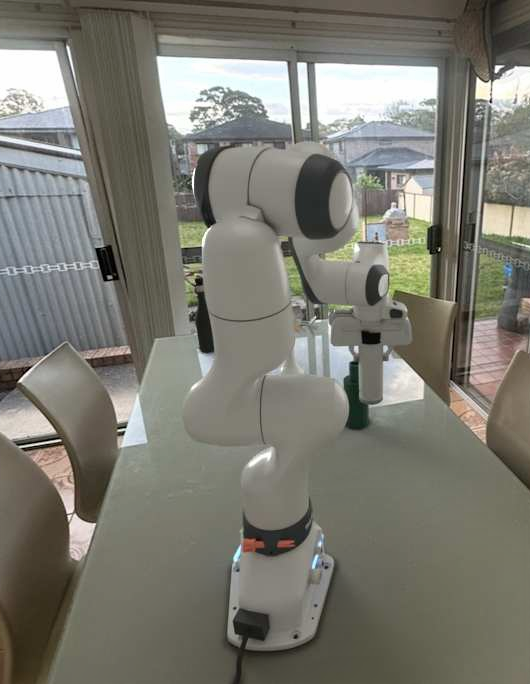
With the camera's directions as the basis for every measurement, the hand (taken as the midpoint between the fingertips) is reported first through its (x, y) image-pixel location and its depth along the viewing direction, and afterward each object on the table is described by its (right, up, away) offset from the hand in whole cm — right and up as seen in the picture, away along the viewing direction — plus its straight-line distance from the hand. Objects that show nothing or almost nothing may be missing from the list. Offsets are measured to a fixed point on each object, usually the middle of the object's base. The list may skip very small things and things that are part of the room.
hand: (371, 360), depth 112 cm
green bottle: (-4, -19, +17) cm, 26 cm away
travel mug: (0, -11, +4) cm, 11 cm away
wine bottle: (-92, +18, +73) cm, 119 cm away
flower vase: (-27, -9, +43) cm, 51 cm away
